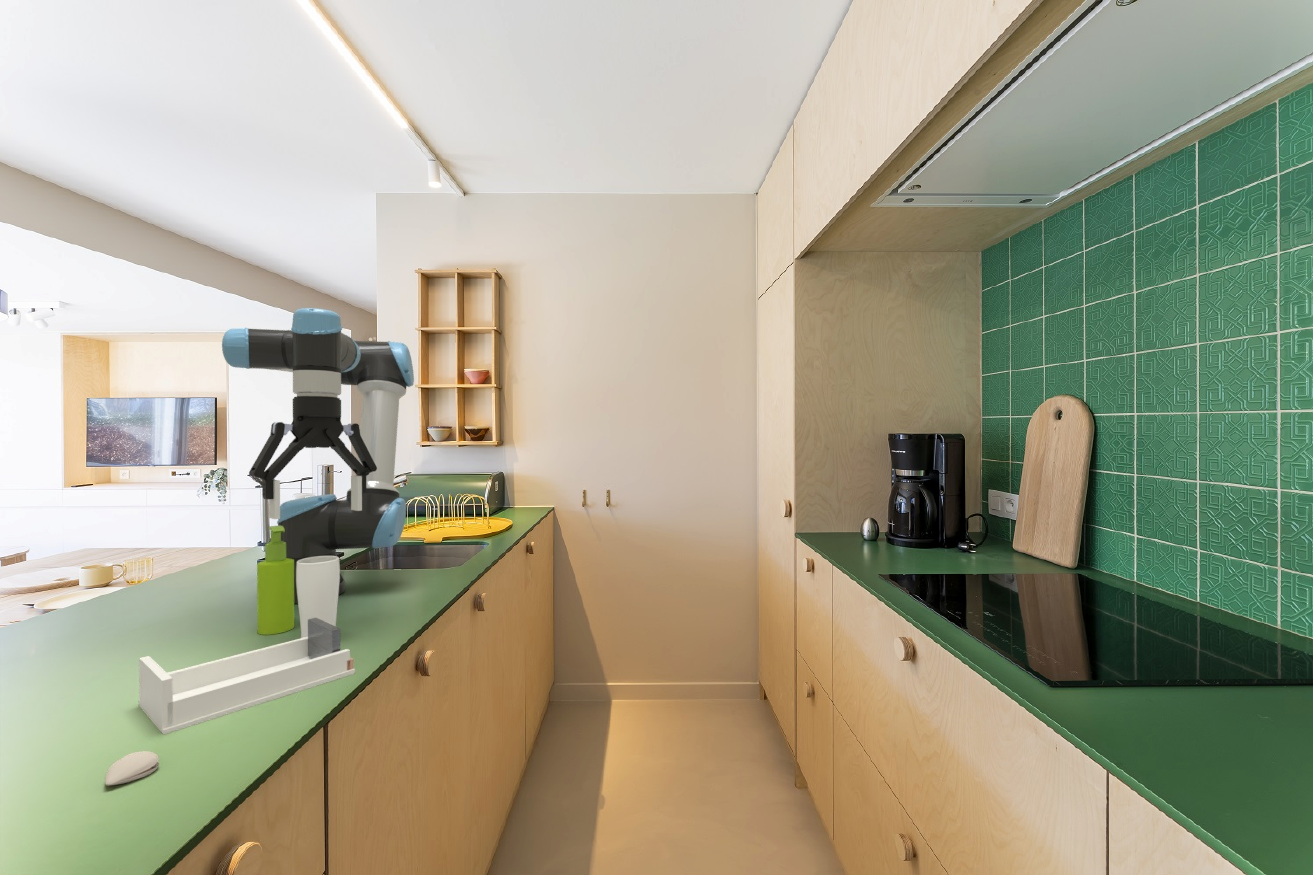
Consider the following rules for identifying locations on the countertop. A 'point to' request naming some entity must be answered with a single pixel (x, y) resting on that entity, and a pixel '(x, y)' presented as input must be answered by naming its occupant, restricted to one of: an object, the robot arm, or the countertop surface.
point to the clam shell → (132, 767)
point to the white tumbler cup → (317, 589)
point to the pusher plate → (322, 638)
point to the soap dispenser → (275, 587)
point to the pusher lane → (233, 682)
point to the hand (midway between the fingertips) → (317, 514)
